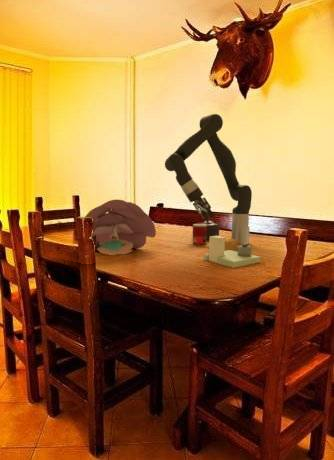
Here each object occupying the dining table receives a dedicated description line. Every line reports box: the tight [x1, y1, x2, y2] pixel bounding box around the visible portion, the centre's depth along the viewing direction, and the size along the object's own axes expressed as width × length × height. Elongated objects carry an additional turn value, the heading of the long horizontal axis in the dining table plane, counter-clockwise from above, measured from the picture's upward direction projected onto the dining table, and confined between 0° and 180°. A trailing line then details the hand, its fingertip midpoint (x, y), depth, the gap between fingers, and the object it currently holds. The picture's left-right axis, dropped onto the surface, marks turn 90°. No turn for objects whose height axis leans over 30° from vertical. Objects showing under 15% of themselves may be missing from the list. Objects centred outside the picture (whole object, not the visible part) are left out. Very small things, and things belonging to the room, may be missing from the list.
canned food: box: [192, 223, 208, 246], centre depth 201 cm, size 8×8×11 cm
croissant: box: [224, 237, 249, 252], centre depth 182 cm, size 21×10×8 cm, turn 104°
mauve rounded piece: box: [84, 199, 157, 256], centre depth 178 cm, size 35×24×28 cm
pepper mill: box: [199, 210, 220, 242], centre depth 220 cm, size 16×11×18 cm
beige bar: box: [208, 235, 228, 264], centre depth 159 cm, size 4×6×11 cm
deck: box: [203, 243, 261, 269], centre depth 159 cm, size 17×18×8 cm
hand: (209, 218), depth 176 cm, fingers open, 8 cm apart
